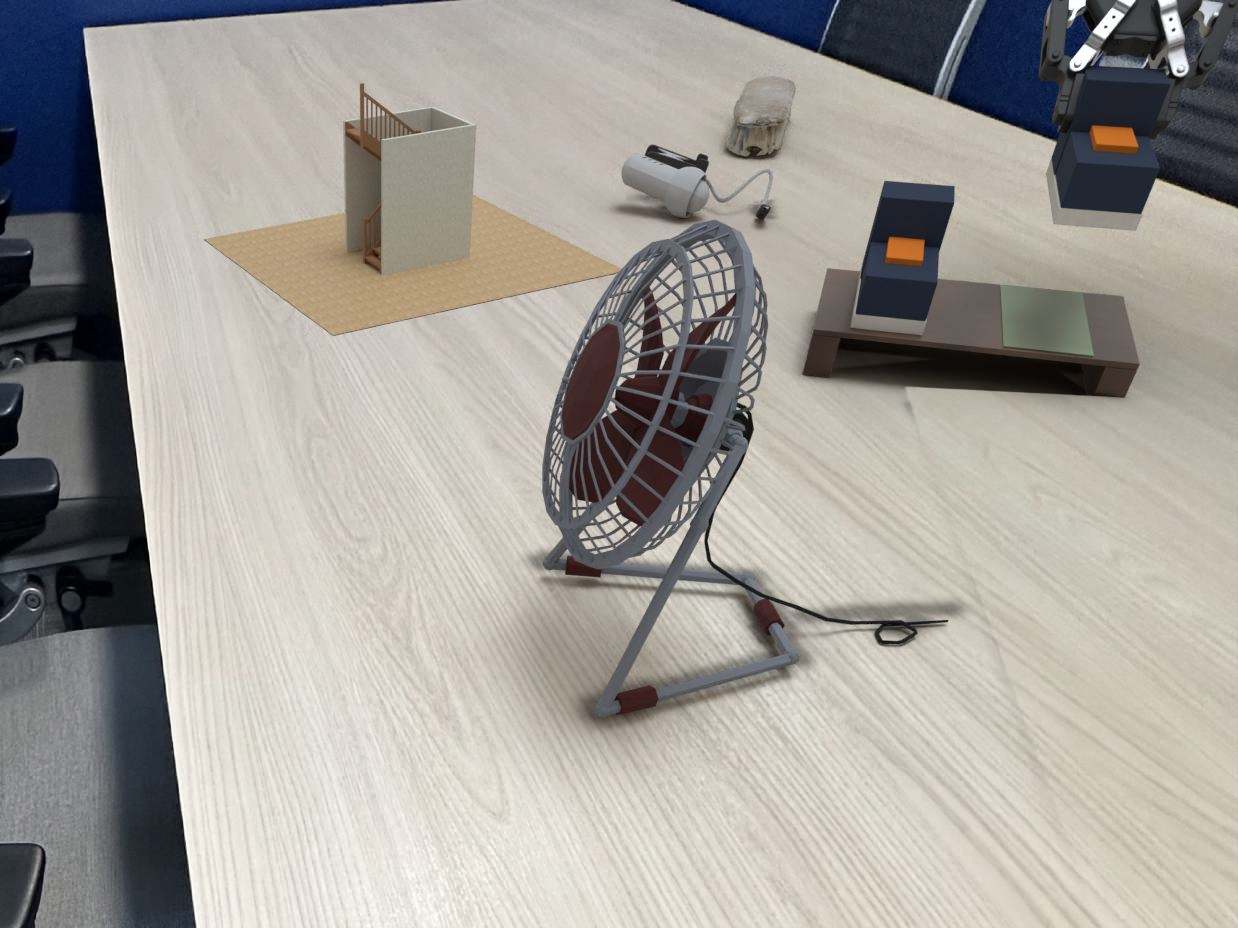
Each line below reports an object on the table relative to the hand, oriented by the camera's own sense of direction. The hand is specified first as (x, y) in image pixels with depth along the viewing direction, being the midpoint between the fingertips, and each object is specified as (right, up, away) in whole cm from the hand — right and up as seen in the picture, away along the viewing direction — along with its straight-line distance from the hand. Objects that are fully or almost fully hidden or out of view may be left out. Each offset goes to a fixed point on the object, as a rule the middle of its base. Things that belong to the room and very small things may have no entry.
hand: (1109, 129), depth 98 cm
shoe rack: (-6, -13, +12) cm, 19 cm away
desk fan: (-36, -45, -18) cm, 61 cm away
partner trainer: (-13, -9, +11) cm, 19 cm away
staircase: (-56, +8, +35) cm, 66 cm away
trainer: (-1, -5, +1) cm, 5 cm away
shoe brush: (-7, +40, +65) cm, 77 cm away
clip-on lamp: (-21, +18, +44) cm, 52 cm away
